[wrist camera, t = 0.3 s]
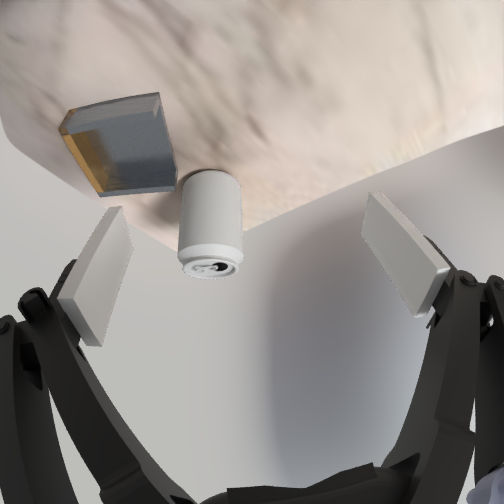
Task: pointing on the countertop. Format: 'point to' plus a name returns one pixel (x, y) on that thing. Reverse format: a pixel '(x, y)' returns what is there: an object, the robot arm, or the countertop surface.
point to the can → (211, 225)
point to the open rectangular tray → (122, 145)
